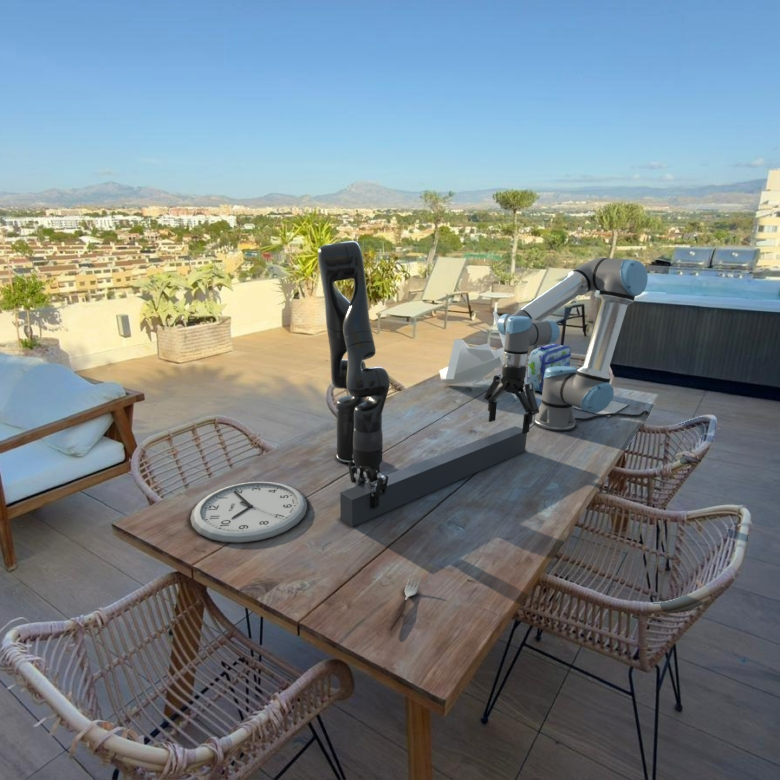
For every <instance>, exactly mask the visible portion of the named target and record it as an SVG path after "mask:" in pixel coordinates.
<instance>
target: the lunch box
mask: <svg viewBox="0 0 780 780" xmlns="http://www.w3.org/2000/svg"><path fill="white" fill-rule="evenodd" d="M571 350H572V349H571V347H570V346H569V345H561V344H556V343H551V344H547V345H543V346H540V347H537V348H534V349H533V350H532V351H531V352H530V353H529V355H528V359H527V369H526V383H528V384H529V383H532V384H533V391H537V392H540V393H541V394H542V390H543V379H544V374H545V370H546V369H547V368H549V367H555V366H569V367H571V356H572V351H571Z"/></svg>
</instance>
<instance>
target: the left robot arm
mask: <svg viewBox="0 0 780 780" xmlns="http://www.w3.org/2000/svg"><path fill="white" fill-rule="evenodd" d="M364 261H365V260H364V257H363V252H362V248H361V246H360V245H359V243H358V242H357V241H355V240H351V241H350V240H349V241H343V242H336V243H328V244H324V245H321V246H320V247H319V248H318V251H317V262H318V263H317V264H318V270H319V276H320V281H321V287H322V292H323V298H324V309H325V310H324V311H325V323H326V333H327V338H328V345H329V355H330V356H329V357H330V379H331V383H332V386H333V387H334V388H335V389H339V390H341V389H342V390H347V391H348V393H349V394H347V395H344V396H341V397H339V398H338V399H337V400H336V404H335V405H336V408H335V409H336V460H337V461H338V462H340V463H342V464H347V465H348V470H349V479H350V482H351V484H354V487H356V486H359V485H361V484H364V483H366V484H367V487H368V488H369V490H370V494H371V496H370V508H371V509H375V508H377V507H378V506H379V497H380V496H382V495H385V492H386V487H387V483H388V476H387V475H388V474H385V475H383V473H382V472H381V468H380V465H381V463H382V462H383V447H384V444H383V443H384V442H383V441H384V440H383V439H384V436H383V435H384V434H383V411H384V407H385V403H386V400H387V396H388V393H389V390H390V386H391V385H390V383H391V382H390V381H391V380H390V376H389V373H388V371H387V370H386V369H385V368H384V367H381V366H374V367H373V366H372V367H367V364H366V362H365V360H369V359H371V358H373V357H374V356H375V355H376V353H377V351H376V345H375V340H374V334H373V330H372V326H371V319H370V313H369V300H368V299H369V297H368V287H367V280H366V271H365V262H364ZM347 280H352V281H353V293H352V297H351V300H349V299H348V298H346V296H345V295H344V294H342V292H341V291H340V290H339V289H338V287H337V285H336V283H335V282H340V281H341V282H342V281H347ZM345 354H347V359H343V358H344V357H345ZM366 398H368V399H367V400H366ZM374 481H375V483H373V484H371V483H372V482H374ZM374 487H375V488H376V491H374Z"/></svg>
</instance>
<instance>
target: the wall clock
mask: <svg viewBox="0 0 780 780" xmlns="http://www.w3.org/2000/svg"><path fill="white" fill-rule="evenodd" d="M307 503H308V502H307V499H306V498H305V496H304V495H303V493H301V492H300V491H298V490H297V489H295V488H294V487H291V486H289V485H286V484H283V483H280V482H279V483H278V482H272V481H249V482H248V481H247V482H242V483H238V484H232V485H229V486H226V487H223V488H220V489H218V490H216V491H213V492H211V493H210V494H208V495H207V496H205V497H204V498H202V499H201V500H200V501H199V502H198V503H197V504H196V505H195V507H194V508H193V509H192V511H191V515H190V523H191V526H192V528H193V529H194V531H196V532H197V533H198V534H199V535H201V536H203V537H205V538H208V539H210V540H214V541H218V542H222V543H239V544H240V543H249V542H256V541H262V540H265V539H269V538H274V537H276V536H278V535H280V534H282V533H286V532H287V531H289V530H290V529H292V528H293V527H295V526H296V525H298V524H299V523H300V522H301V521H302V519H303V518H304V517H305V516H306V513H307V510H308V504H307Z"/></svg>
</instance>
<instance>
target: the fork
mask: <svg viewBox="0 0 780 780" xmlns="http://www.w3.org/2000/svg"><path fill="white" fill-rule="evenodd" d="M421 576H422V575H421V574H420V575H419V578H418V576H416V577H415V574H413V577H412V573H410V574H409V578H408V579H407V580H408V581H407V582H406V586H405V588H404V594H405V598H404V600H403V601H402V602H401V604H400V605H399V607H398V608H397V610H396V612H395V614H394V615H395V616H394V618H393V621H392V623H391V627H390V629H389V631H390V632H391V631H392V630H393V628H394V627H395V625H396V624H397V622H398V621H399V619H400V618H401V616H402V615H403V613H404V610H405V608H406V605H407V601H408V599H409V598H410V597H413V596H415V595H417V592H418V590H419V585H420V580H421ZM411 577H412V579H411ZM414 577H415V580H414ZM417 579H418V581H417ZM416 584H417V585H416Z"/></svg>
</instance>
